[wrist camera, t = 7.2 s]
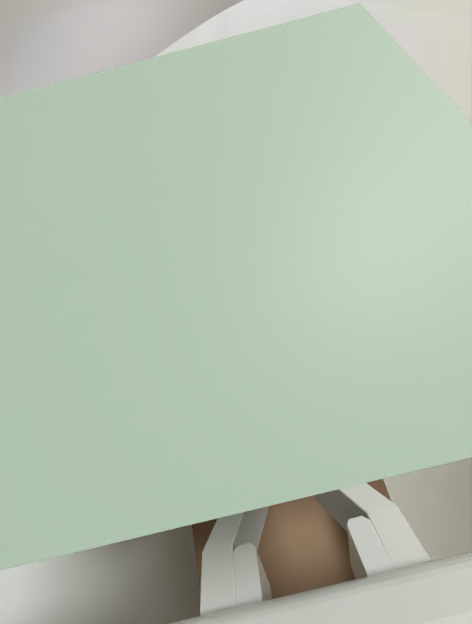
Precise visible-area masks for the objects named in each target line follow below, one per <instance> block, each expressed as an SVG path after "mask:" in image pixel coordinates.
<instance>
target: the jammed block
mask: <svg viewBox="0 0 472 624" xmlns="http://www.w3.org/2000/svg"><path fill="white" fill-rule="evenodd" d="M471 457H472V122H471V121H470V120H469V119H468V118H467V117H466V116H465V115H464V114H463V113H462V112H461V111H460V109H459V108H458V107H457V106H456V105H455V104H454V103H453V102H452V101H451V100H450V99H449V98H448V97H447V96H446V95H445V94H444V92H443V91H442V90H441V89H440V88H439V87H438V86H437V85H436V84H435V83H434V82H433V81H432V80H431V79H430V78H429V76H428V75H427V74H426V73H425V72H424V71H423V70H422V69H421V68H420V67H419V66H418V65H417V64H416V63H415V62H414V60H413V59H412V58H411V57H410V56H409V55H408V54H407V53H406V52H405V51H404V50H403V49H402V48H401V47H400V46H399V45H398V43H397V42H396V41H395V40H394V39H393V38H392V37H391V36H390V35H389V34H388V33H387V32H386V31H385V30H384V29H383V27H382V26H381V25H380V24H379V23H378V22H377V21H376V20H375V19H374V18H373V17H372V16H371V15H370V14H369V13H368V12H367V10H366V9H365V8H364V7H363V6H362V5H361V4H360V3H359V4H355V5H351V6H347V7H344V8H340V9H336V10H332V11H328V12H325V13H321V14H317V15H313V16H310V17H306V18H302V19H298V20H294V21H291V22H287V23H283V24H279V25H275V26H272V27H268V28H264V29H260V30H256V31H253V32H249V33H245V34H241V35H238V36H234V37H230V38H226V39H222V40H219V41H215V42H211V43H207V44H203V45H200V46H196V47H192V48H188V49H185V50H181V51H177V52H173V53H169V54H166V55H162V56H158V57H154V58H150V59H147V60H143V61H139V62H135V63H132V64H128V65H124V66H120V67H116V68H113V69H109V70H105V71H102V72H97V73H94V74H90V75H86V76H83V77H78V78H75V79H71V80H67V81H63V82H60V83H56V84H52V85H48V86H45V87H41V88H37V89H33V90H29V91H25V92H22V93H18V94H14V95H10V96H7V97H3V98H0V570H4V569H8V568H12V567H16V566H21V565H25V564H29V563H33V562H37V561H41V560H46V559H50V558H54V557H58V556H62V555H67V554H71V553H75V552H79V551H83V550H87V549H92V548H96V547H100V546H104V545H108V544H112V543H117V542H121V541H125V540H129V539H133V538H137V537H142V536H146V535H150V534H154V533H158V532H162V531H167V530H171V529H175V528H179V527H183V526H187V525H192V524H196V523H200V522H204V521H208V520H212V519H217V518H221V517H225V516H229V515H233V514H237V513H242V512H246V511H250V510H254V509H258V508H263V507H267V506H271V505H275V504H279V503H283V502H288V501H292V500H296V499H300V498H304V497H308V496H313V495H317V494H321V493H325V492H329V491H333V490H338V489H342V488H346V487H350V486H354V485H358V484H363V483H367V482H371V481H375V480H379V479H383V478H388V477H392V476H396V475H400V474H404V473H408V472H413V471H417V470H421V469H425V468H429V467H433V466H438V465H442V464H446V463H450V462H454V461H459V460H463V459H467V458H471Z"/></svg>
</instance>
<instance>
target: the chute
mask: <svg viewBox="0 0 472 624" xmlns="http://www.w3.org/2000/svg"><path fill="white" fill-rule="evenodd" d="M367 484H368V485H370V486H371V487H372V488H374V489H375V490H376V491H378V492H379V493H380V494H382V495H383V496H384V497H386V498H387V499H388V500H390V501H391V499H390V497H389V494H388V491H387V489H386V486H385V484H384V481H383V479H379V480H375V481H371V482H367ZM217 519H218V518H217ZM217 519H212V520H208V521H204V522H200V523H196V524H192V528H193V536H194V544H195V552H196V560H197V568H198V576H199V584H200V592H201V574H202V552H203V550H204V547H205V545H206V543H207V541H208V539H209V536H210V534H211V532H212V530H213V528H214V525H215V523H216V521H217ZM257 552H258V555H259V558H260V560H261V563H262V566H263V568H264V571H265V573H266V576H267V579H268V581H269V584H270V588H271V594H272V599H274V598H278V597H283V596H287V595H291V594H295V593H300V592H304V591H308V590H312V589H317V588H321V587H325V586H329V585H334V584H338V583H342V582H346V581H350V580H355V579H356V578H355V576H354V573H353V571H352V568H351V563H350V552H349V541H348V532H347V531H346V530H345V529H344V528H343V527H342V526H341V525H340V524H339V523H338V522H337V521H336V520H335V519H334V518H333V517H332V515H331V514H330V513H329V512H328V511H327V510H326V509H325V508H324V507H323V506H322V505H321V504H320V503H319V502H318V501H317V500H316V499H315V498H314V496H309V497H304V498H300V499H296V500H292V501H288V502H283V503H279V504H275V505H272V506H268V512H267V516H266V520H265V523H264V527H263V531H262V535H261V539H260V543H259V546H258V550H257Z"/></svg>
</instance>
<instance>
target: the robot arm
mask: <svg viewBox="0 0 472 624" xmlns="http://www.w3.org/2000/svg"><path fill="white" fill-rule="evenodd" d="M313 496H314V498H315V499H316V500H317V501H318V502H319V503H320V504H321V505H322V506H323V507H324V508H325V509H326V510H327V511H328V512H329V513H330V514H331V515H332V517H333V518H334V519H335V520H336V521H337V522H338V523H339V524H340V525H341V526H342V527H343V528H344V529H345V530H346V531H347V532H348V541H349V552H350V563H351V568H352V571H353V573H354V576H355V578H356V579H355V580H350V581H346V582H342V583H338V584H334V585H329V586H325V587H321V588H317V589H312V590H308V591H304V592H300V593H295V594H291V595H287V596H283V597H278V598H274V599H272V594H271V588H270V584H269V581H268V579H267V576H266V573H265V571H264V568H263V566H262V563H261V560H260V558H259V555H258V552H257V550H258V546H259V543H260V539H261V535H262V531H263V527H264V523H265V520H266V516H267V512H268V506H267V507H263V508H258V509H254V510H250V511H246V512H242V513H237V514H233V515H229V516H225V517H221V518H218V519H217V521H216V523H215V525H214V528H213V530H212V532H211V534H210V536H209V539H208V541H207V543H206V545H205V547H204V550H203V552H202V574H201V601H200V616H198V617H194V618H189V619H185V620H181V621H177V622H172V623H168V624H472V552H469V553H465V554H461V555H457V556H452V557H448V558H444V559H440V560H435V561H431V559H430V558H429V556H428V555H427V553H426V551H425V550H424V548H423V546H422V545H421V543H420V542H419V540H418V538H417V537H416V535H415V534H414V532H413V530H412V529H411V527H410V525H409V524H408V522H407V521H406V519H405V517H404V516H403V514H402V513H401V511H400V509H399V508H398V506H397V505H395V504H394V503H393V502H391V501H390V500H388V499H387V498H386V497H384V496H383V495H382V494H380V493H379V492H378V491H376V490H375V489H374V488H372V487H371V486H370V485H368V484H367V483H363V484H358V485H354V486H350V487H346V488H342V489H338V490H333V491H329V492H325V493H321V494H317V495H313ZM308 497H309V496H308ZM271 506H272V505H271Z"/></svg>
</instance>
